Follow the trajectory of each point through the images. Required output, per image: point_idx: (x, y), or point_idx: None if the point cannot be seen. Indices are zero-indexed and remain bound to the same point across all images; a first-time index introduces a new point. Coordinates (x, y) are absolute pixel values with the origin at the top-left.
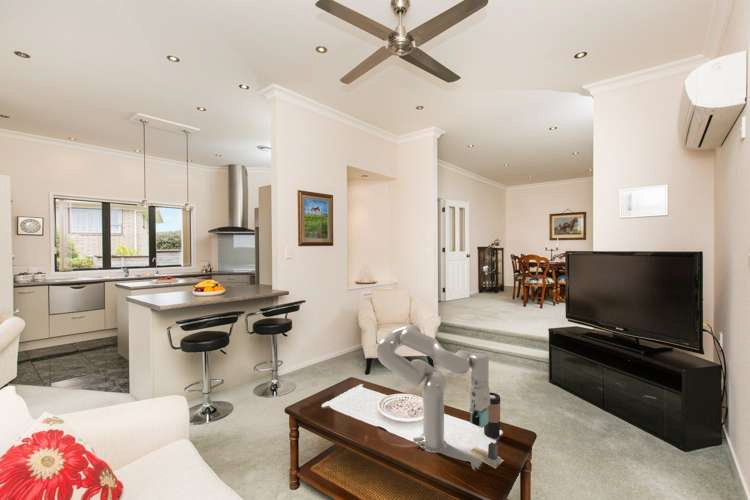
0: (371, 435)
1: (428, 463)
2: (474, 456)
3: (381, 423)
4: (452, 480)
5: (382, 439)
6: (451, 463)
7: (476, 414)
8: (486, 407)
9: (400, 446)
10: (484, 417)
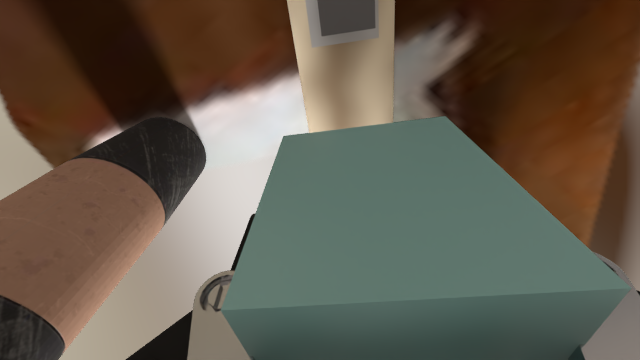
0: None
1: (555, 185)
2: (387, 94)
3: None
4: (629, 47)
5: None
6: (497, 132)
7: (630, 314)
8: (202, 343)
9: None
10: (413, 188)
